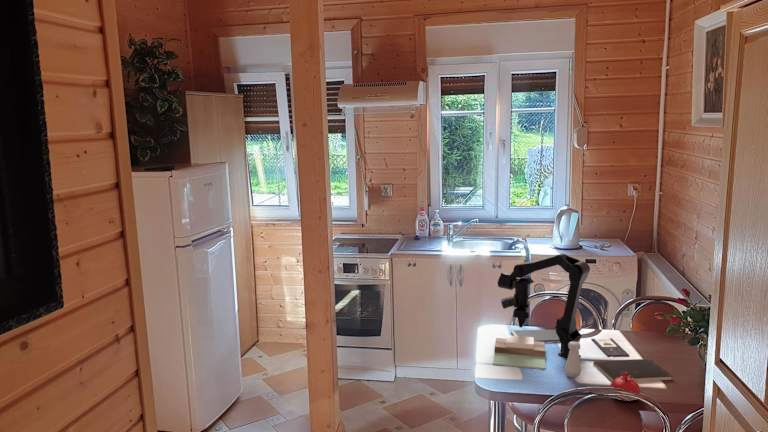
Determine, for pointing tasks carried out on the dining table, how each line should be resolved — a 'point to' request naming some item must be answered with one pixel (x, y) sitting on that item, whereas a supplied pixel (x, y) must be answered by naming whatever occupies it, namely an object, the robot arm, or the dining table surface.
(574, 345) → the salt shaker
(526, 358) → the mat
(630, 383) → the pomegranate
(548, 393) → the dining table surface
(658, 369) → the hardcover book
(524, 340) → the pale pink slab
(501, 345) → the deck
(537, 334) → the smartphone
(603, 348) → the chocolate bar
